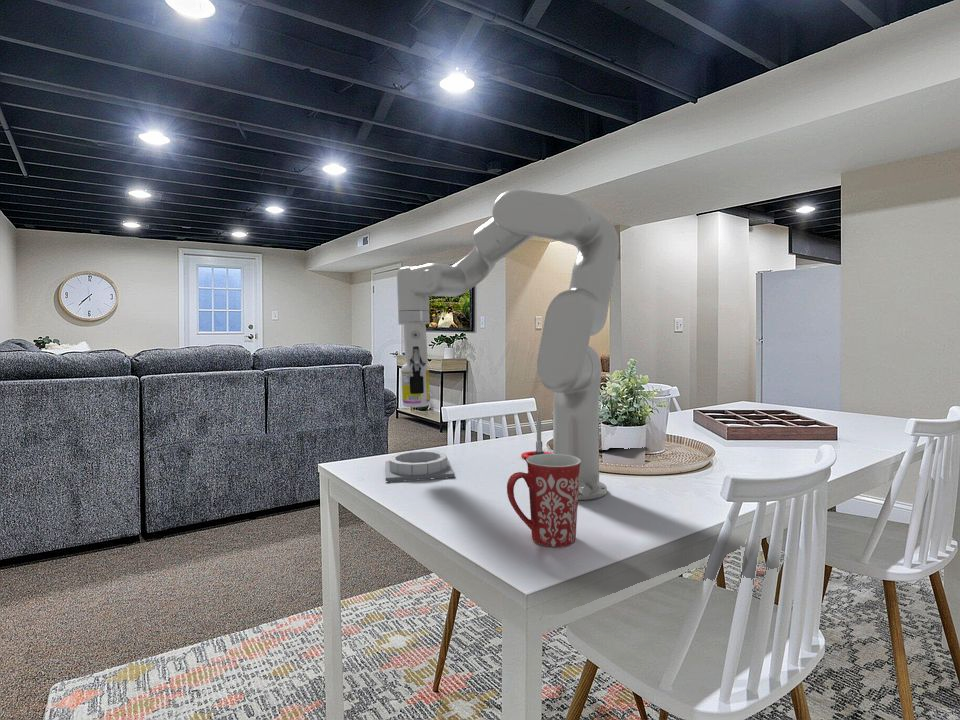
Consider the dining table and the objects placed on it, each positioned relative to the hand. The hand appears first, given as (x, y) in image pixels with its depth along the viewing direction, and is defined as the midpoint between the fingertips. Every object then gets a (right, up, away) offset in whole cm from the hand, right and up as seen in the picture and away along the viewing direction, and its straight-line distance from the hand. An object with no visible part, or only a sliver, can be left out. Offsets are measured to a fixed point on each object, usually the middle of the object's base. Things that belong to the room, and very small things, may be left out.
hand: (416, 391), depth 137 cm
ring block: (0, -20, +1) cm, 20 cm away
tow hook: (+31, -19, +13) cm, 38 cm away
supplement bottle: (0, -4, 0) cm, 4 cm away
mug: (+26, -23, -44) cm, 56 cm away
